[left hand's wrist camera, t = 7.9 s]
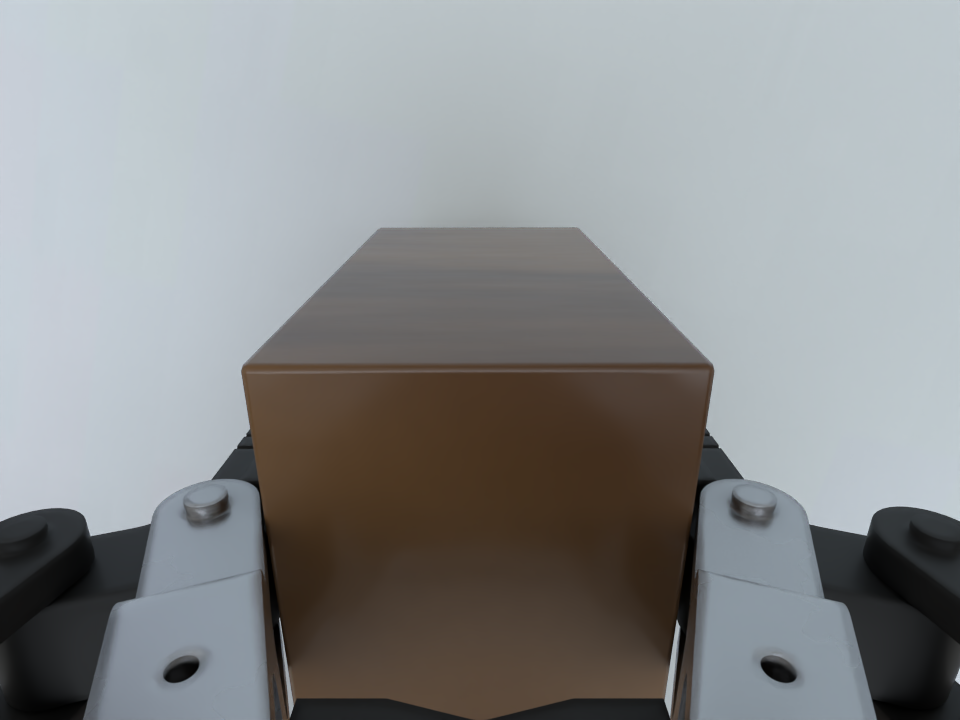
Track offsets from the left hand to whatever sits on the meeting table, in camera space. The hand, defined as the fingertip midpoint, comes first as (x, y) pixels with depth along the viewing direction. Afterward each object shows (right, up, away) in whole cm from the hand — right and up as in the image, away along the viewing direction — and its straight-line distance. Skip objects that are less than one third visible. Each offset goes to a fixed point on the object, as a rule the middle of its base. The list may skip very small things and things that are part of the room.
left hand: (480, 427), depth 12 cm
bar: (0, -7, +8) cm, 10 cm away
